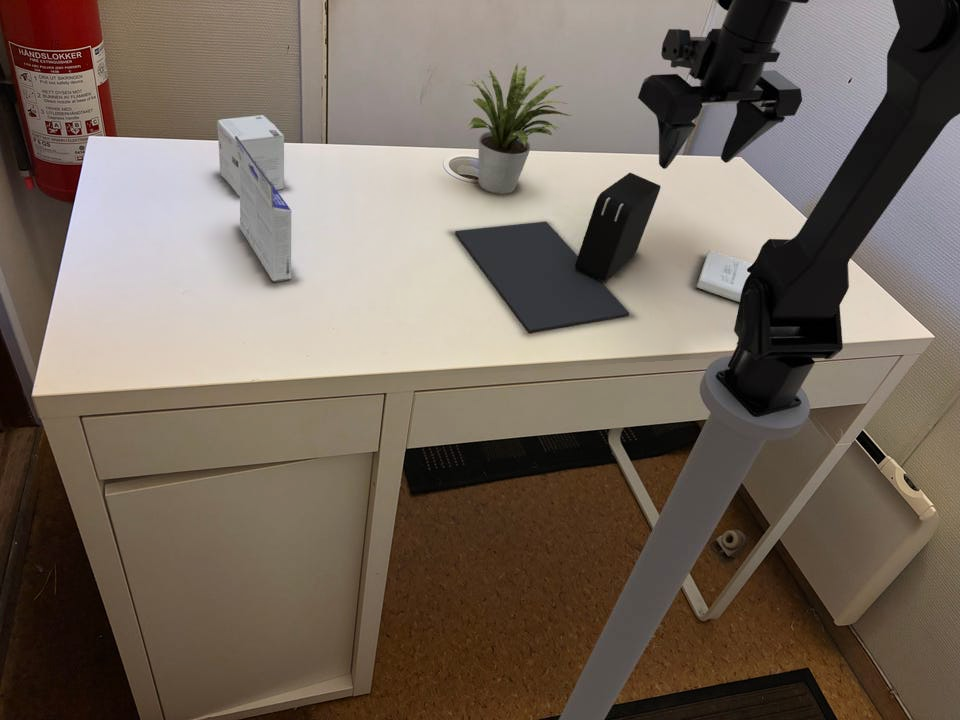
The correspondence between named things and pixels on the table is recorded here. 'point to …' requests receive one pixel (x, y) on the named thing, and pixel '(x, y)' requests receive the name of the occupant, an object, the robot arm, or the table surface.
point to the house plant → (508, 131)
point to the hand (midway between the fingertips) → (693, 163)
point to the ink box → (264, 217)
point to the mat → (539, 276)
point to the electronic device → (617, 226)
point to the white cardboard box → (251, 148)
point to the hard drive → (723, 275)
